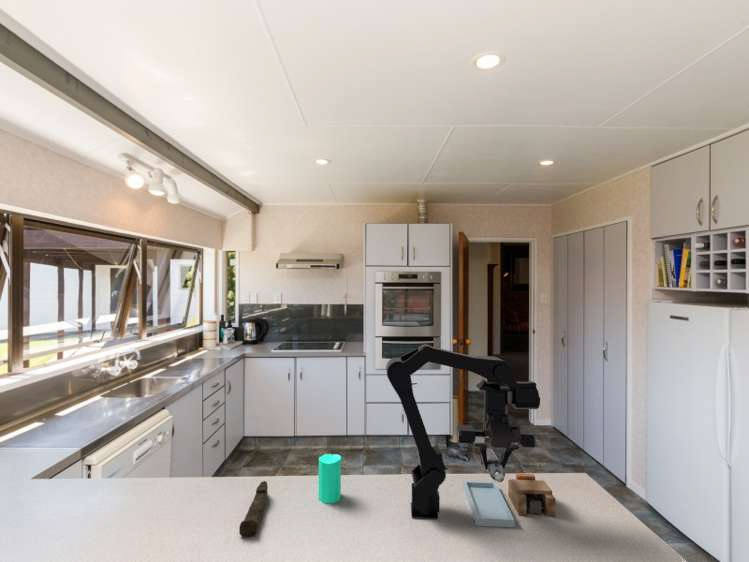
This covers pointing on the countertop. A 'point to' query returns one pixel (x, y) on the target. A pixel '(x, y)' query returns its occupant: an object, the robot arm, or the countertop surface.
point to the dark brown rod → (254, 512)
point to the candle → (329, 478)
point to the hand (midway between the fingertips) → (493, 469)
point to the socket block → (531, 486)
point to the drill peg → (494, 466)
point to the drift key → (530, 495)
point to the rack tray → (487, 504)
